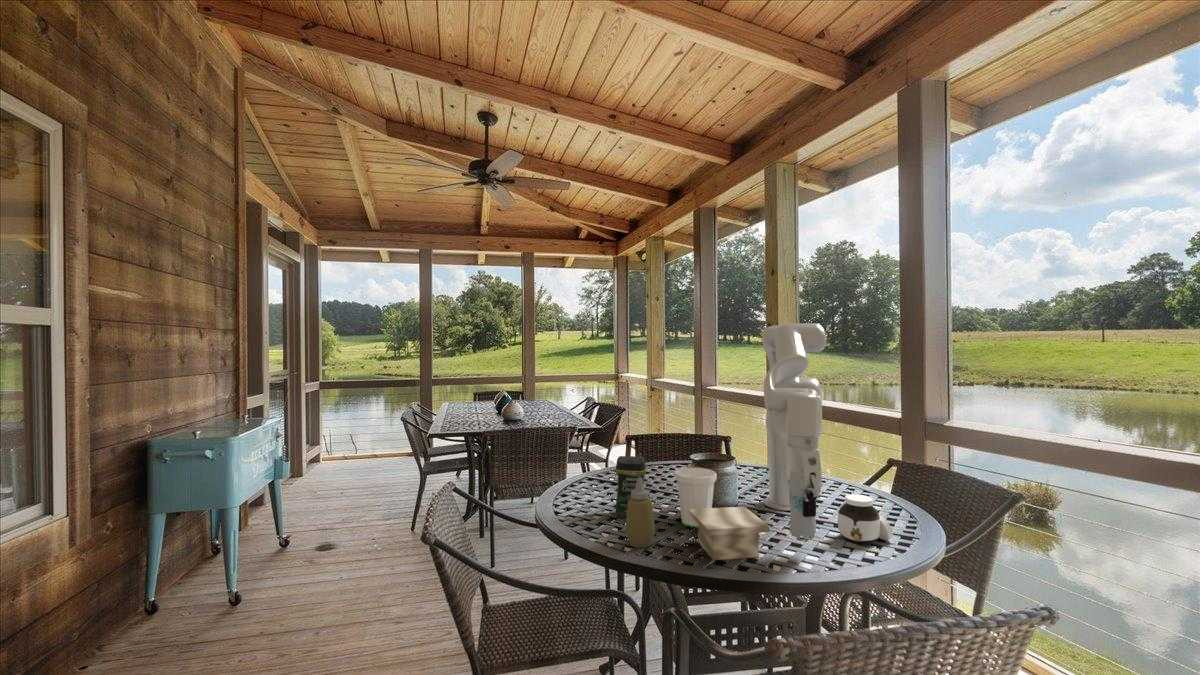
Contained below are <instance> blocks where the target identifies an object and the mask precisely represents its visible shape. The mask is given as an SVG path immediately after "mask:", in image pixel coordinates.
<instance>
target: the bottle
mask: <svg viewBox="0 0 1200 675" xmlns="http://www.w3.org/2000/svg"><path fill="white" fill-rule="evenodd" d="M807 487H808V488H812V486H811V485H810V484H809V485H807ZM789 489H790V491H791V492H790V510H791V511H790V512H789V513H790V514H789V531H790V532H789V533H790V534H791V535H792V536H793V537H795V538H796V539H797V540H799V539H801V537H803V540H804V541H807V540H808V539H809V540H813V539H814V538H815V535H816V531H817V522H816V521H817V520H816V516H815V517H804V516H803V500H804V494H803V489H802V488H801V487H800V484H799V480H798V476H797V474H796V473H795V472H794V471H790V478H789ZM810 492H812V490H810V491H807V493H808V495H809V493H810Z"/></svg>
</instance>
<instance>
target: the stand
mask: <svg viewBox="0 0 1200 675" xmlns="http://www.w3.org/2000/svg"><path fill="white" fill-rule="evenodd" d="M689 515H690V516H691V517H692V519H693V520H694V521H695V522H696V523H697V524H698V529H697V530H698V534H697V536H698V538H697V539H698V542H697V543H700V544H699V545H700V546H701V547H702V548H703V550H704V551H705V552H706V553H707V555H708V556H709V557H710V558H711V560H712V561H718V560H719V561H721V560H722V561H723V560H734V559H735V560H736V559H737V560H739V559H752V558H759V557H760V555H759V554H760V552H759V551H760V550H759V548H760V546H759V545H760V542H759V538H760V537H759V533H760V534H762V533H770V525H769V524H767V523H766V522H765V521H764V520H762V519H761V518H760V517H758V516H757V515H756V514H755V513H753V512H752V511H751V510H750V509H748V508H747V507H746V506H730V507H729V506H728V507H727V506H726V507H712V508H705V509H689Z"/></svg>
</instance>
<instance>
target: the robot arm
mask: <svg viewBox="0 0 1200 675" xmlns="http://www.w3.org/2000/svg"><path fill="white" fill-rule="evenodd" d="M761 341H762V346H763V349H764V352H765V354H766V357H767V359H768V363H769V370H768V371H767V372H766V375H765V376H764V380H763V385H762V386H763V388H762V389H763V400H764V408H765V410H766V412H767V414H766V417H765V428H766V435H767V441H768V442H767V443H768V497H765V499H764V502H763V503H764V505H765V506H766V507H768V508H770V509H775V510H779V511H790V512H791V510H790V492H791V491H790V489H789V478H790V471H794V472H795V473H796V474H797V476H798V480H799V484H800V487H801V488H802V489H803V494H804V500H803V516H804V517H815V518H816V516H817V501H818V498H819V495H820V494H821V489H822V486H823V477H822V476H823V475H822V463H821V461H822V460H821V456H820V450H819V438H821V436H822V433H823V403H822V402H823V400H822V398H823V397H822V386H821V384H820V382H819V380H818V379H817V378H815V377H811V376H810V377H809V376H807V377H805V376H799V375H802V374H803V373H805V371H807V369H808V368H809V358H808V352H810V353H811V352H815V353H817V352H819V353H820V352H822V351H823V350H824V349H825V348H826V344H827V334H826V331H825V329H824V327H823V326H822V325H821V324H819V323H816V322H815V323H814V322H813V323H811V322H810V323H808V322H807V323H805V322H803V323H800V322H799V323H794V322H793V323H786V324H785V323H784V324H782V325H781V324H780V325H777V324H776V325H771V326H767V327H765V328H764V329H763V330H762V334H761ZM809 484H810V485H811V486H812V488H808V487H807V485H809ZM810 490H812V492H810V493H809V495H808V493H807V491H810Z"/></svg>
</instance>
